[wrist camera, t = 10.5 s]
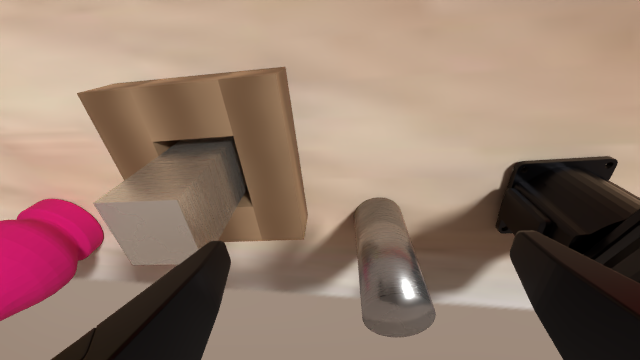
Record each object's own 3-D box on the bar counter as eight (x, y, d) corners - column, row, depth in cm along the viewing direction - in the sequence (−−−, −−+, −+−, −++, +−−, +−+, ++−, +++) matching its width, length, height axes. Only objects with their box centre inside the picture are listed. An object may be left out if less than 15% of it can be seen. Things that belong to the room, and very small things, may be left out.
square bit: (241, 129, 19) (176, 199, 11) (253, 177, 21) (204, 264, 13) (190, 133, 20) (93, 203, 12) (206, 179, 22) (132, 265, 14)
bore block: (285, 66, 17) (275, 74, 14) (307, 215, 23) (303, 239, 20) (114, 83, 18) (76, 93, 15) (178, 220, 24) (159, 243, 21)
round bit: (402, 196, 21) (440, 294, 13) (400, 233, 23) (431, 337, 15) (353, 198, 22) (361, 294, 14) (354, 235, 24) (362, 337, 16)
